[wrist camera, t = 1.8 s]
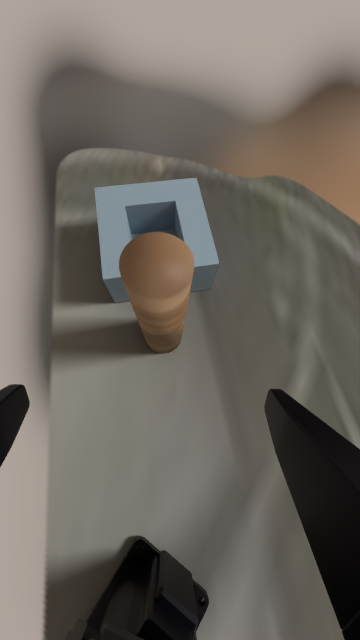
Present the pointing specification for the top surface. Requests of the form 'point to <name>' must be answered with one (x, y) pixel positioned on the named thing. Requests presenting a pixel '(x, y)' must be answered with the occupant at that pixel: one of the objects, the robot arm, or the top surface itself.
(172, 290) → the walnut peg
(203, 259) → the hole block
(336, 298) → the top surface
